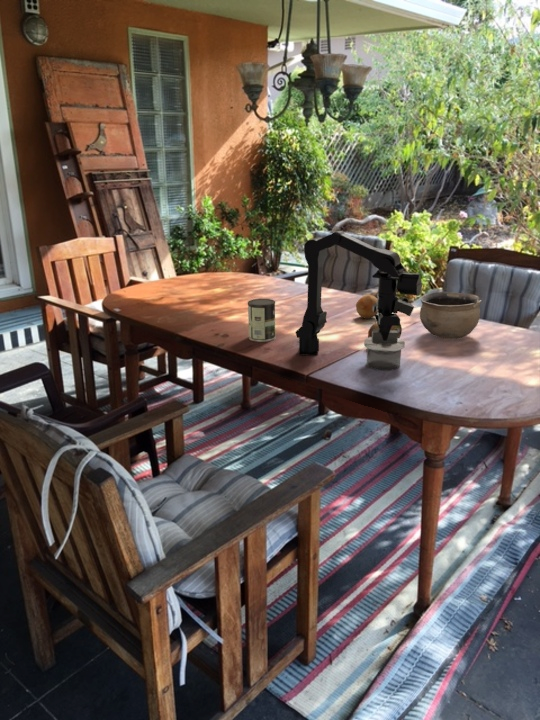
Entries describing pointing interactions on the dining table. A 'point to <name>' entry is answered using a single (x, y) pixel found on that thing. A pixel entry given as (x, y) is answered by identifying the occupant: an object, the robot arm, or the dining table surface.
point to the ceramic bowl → (450, 314)
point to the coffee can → (261, 320)
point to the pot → (383, 359)
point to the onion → (366, 306)
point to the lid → (384, 342)
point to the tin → (398, 328)
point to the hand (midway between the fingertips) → (384, 339)
